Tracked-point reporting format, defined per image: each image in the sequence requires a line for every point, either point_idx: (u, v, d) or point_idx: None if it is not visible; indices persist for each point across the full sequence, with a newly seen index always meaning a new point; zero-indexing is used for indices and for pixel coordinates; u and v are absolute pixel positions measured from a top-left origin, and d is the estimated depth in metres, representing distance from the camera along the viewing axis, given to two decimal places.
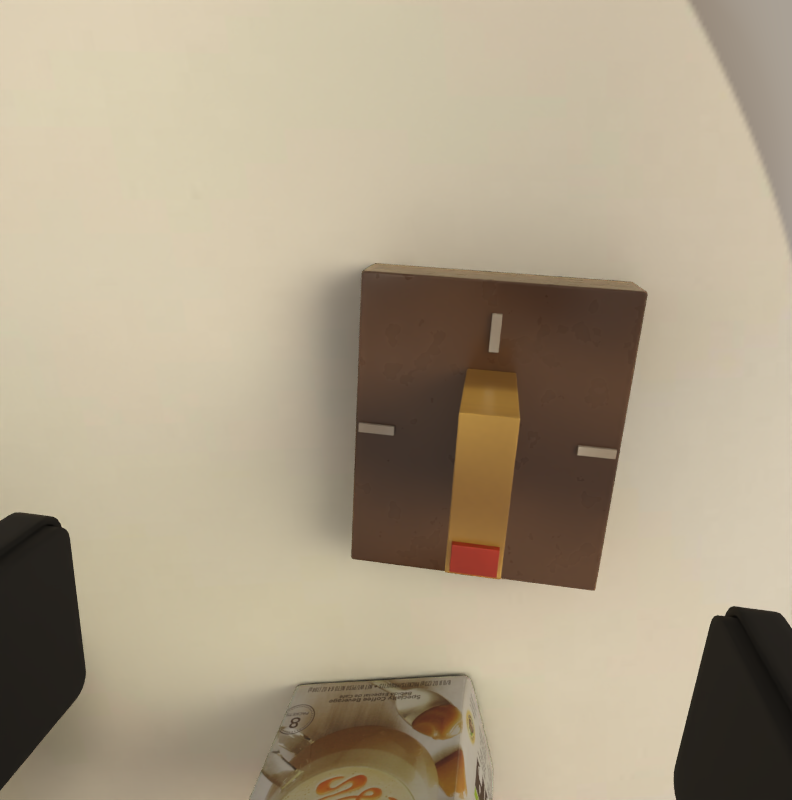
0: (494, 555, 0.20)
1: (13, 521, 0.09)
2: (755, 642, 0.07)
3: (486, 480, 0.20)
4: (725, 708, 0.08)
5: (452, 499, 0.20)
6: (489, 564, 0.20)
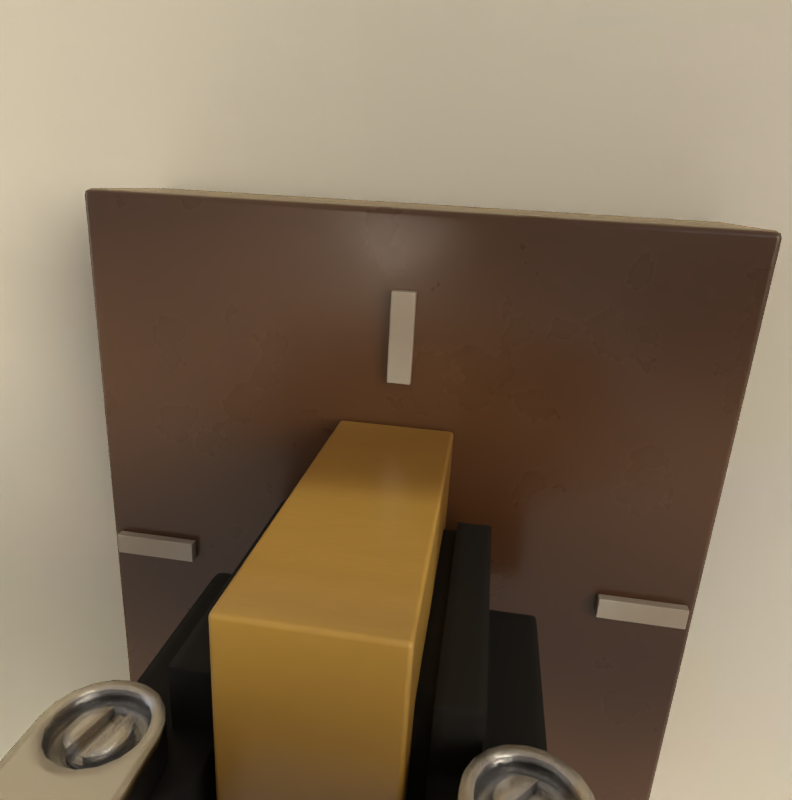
0: None
1: None
2: None
3: None
4: None
5: None
6: None
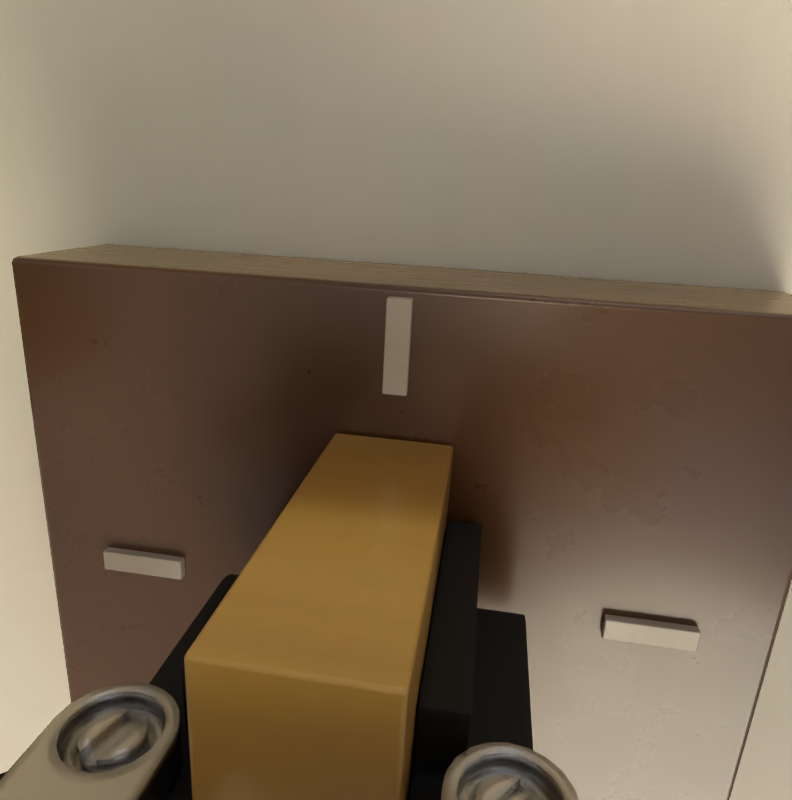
0: None
1: None
2: (445, 544, 0.09)
3: None
4: None
5: None
6: None
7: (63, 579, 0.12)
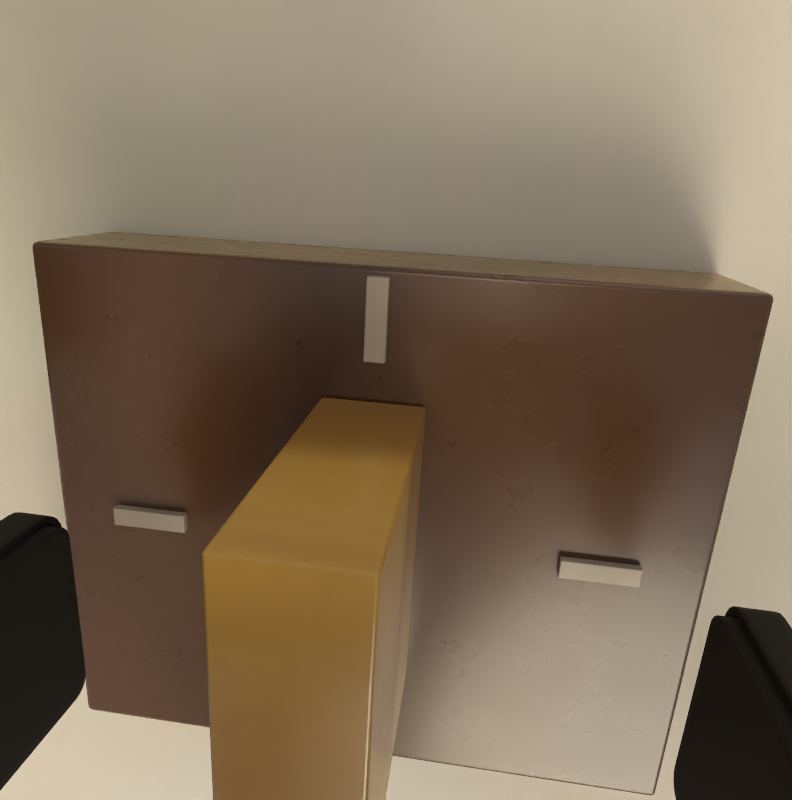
0: None
1: (13, 521, 0.09)
2: (755, 642, 0.07)
3: (296, 732, 0.07)
4: (725, 708, 0.08)
5: (214, 772, 0.07)
6: None
7: (76, 535, 0.13)
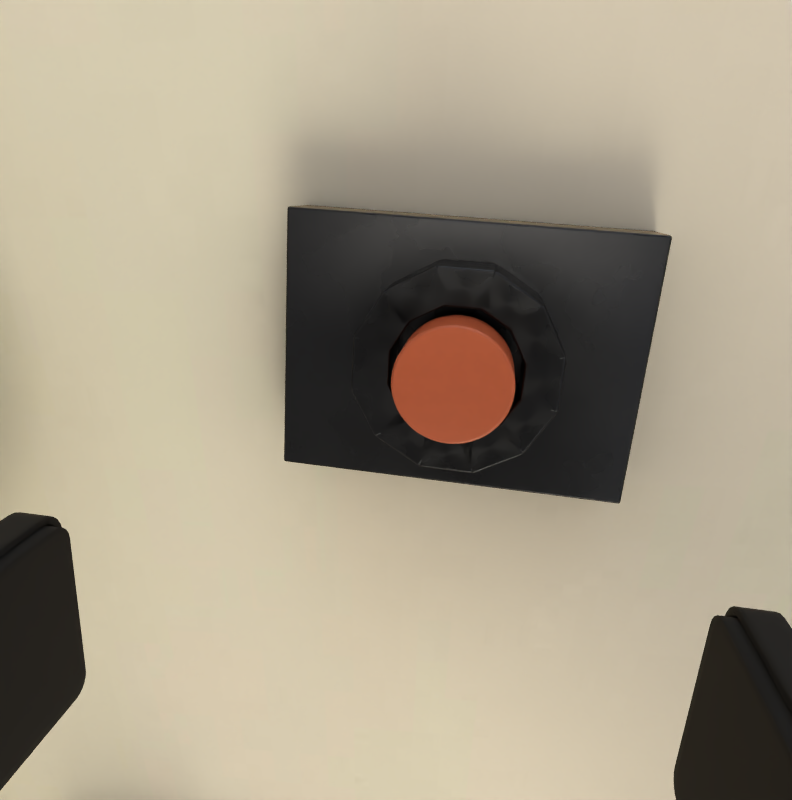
0: None
1: (13, 521, 0.09)
2: (755, 642, 0.07)
3: None
4: (725, 708, 0.08)
5: None
6: None
7: None
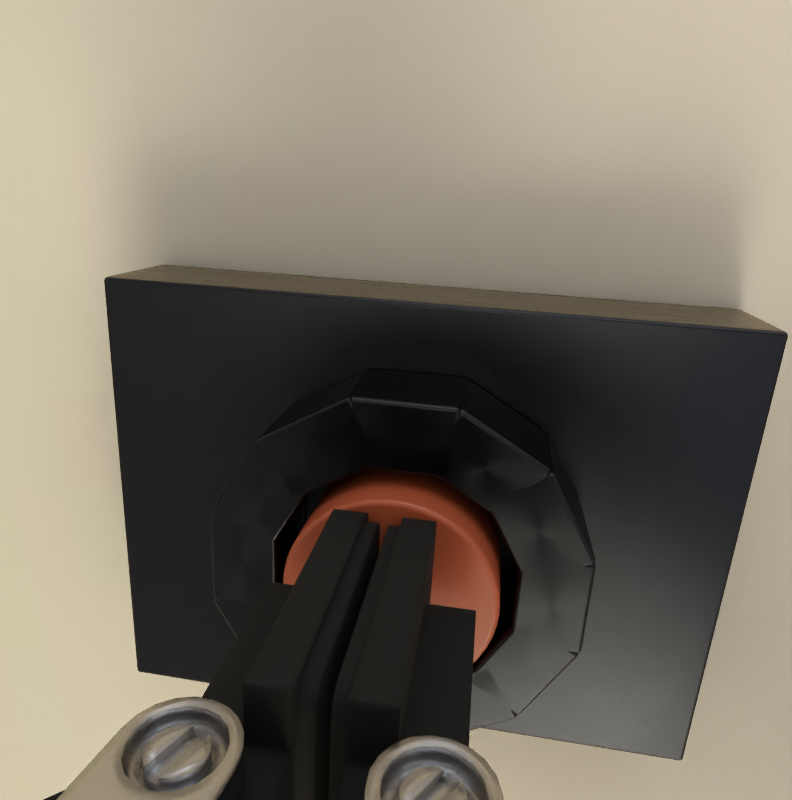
0: None
1: (341, 517, 0.10)
2: (397, 540, 0.09)
3: None
4: None
5: None
6: None
7: None
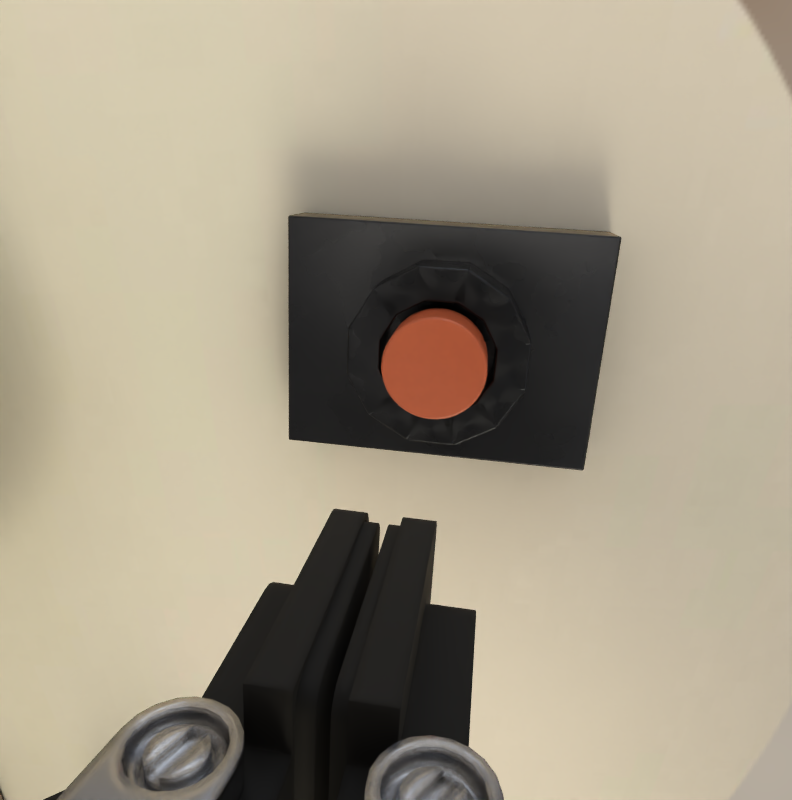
0: None
1: (341, 517, 0.10)
2: (397, 540, 0.09)
3: None
4: None
5: None
6: None
7: None
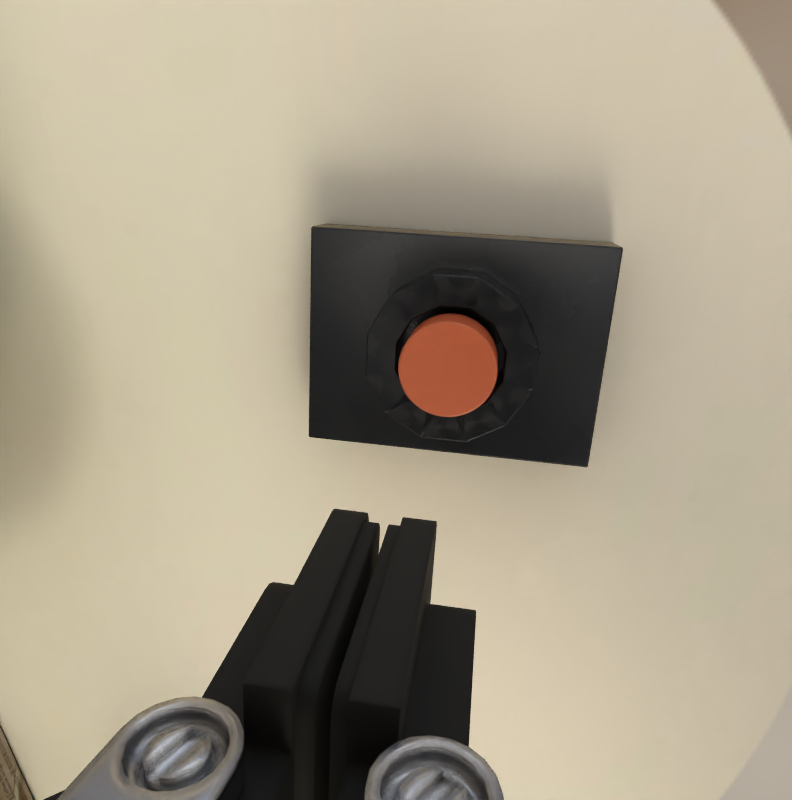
0: None
1: (341, 517, 0.10)
2: (397, 540, 0.09)
3: None
4: None
5: None
6: None
7: None
